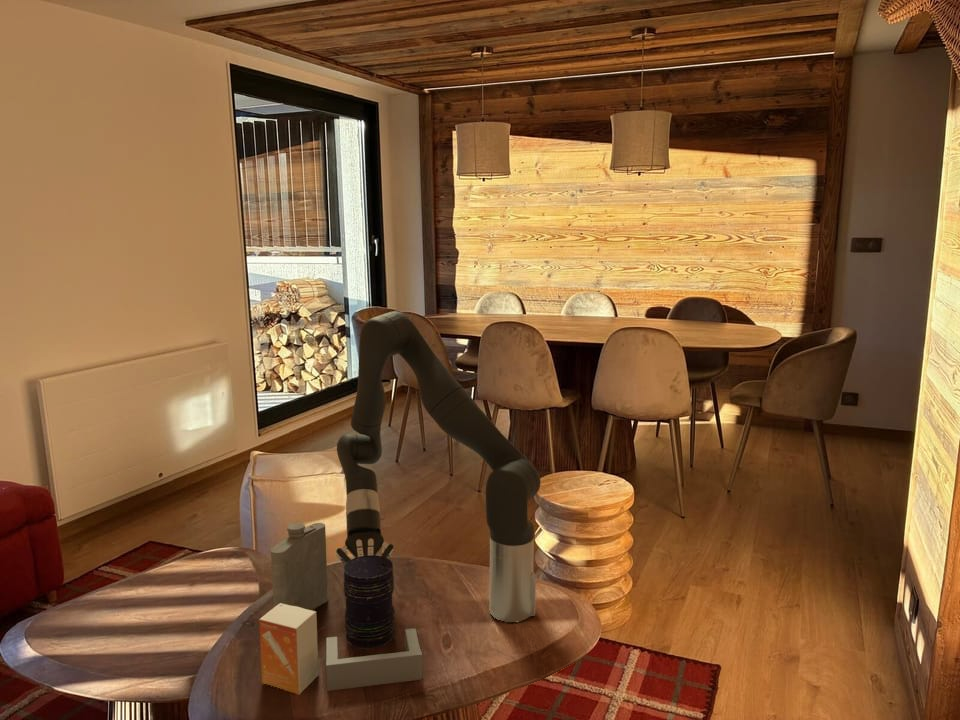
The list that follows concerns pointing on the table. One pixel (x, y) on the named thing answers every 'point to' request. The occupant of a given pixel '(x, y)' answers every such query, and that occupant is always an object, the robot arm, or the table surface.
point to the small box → (289, 647)
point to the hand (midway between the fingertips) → (367, 590)
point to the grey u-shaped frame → (373, 666)
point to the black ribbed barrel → (369, 601)
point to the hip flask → (300, 567)
